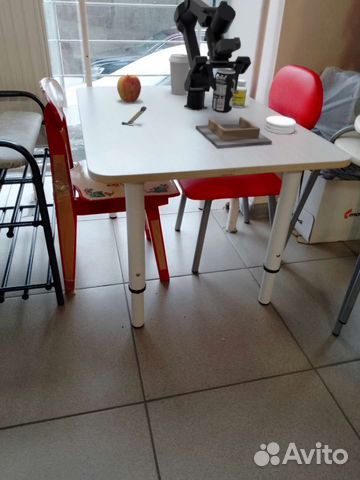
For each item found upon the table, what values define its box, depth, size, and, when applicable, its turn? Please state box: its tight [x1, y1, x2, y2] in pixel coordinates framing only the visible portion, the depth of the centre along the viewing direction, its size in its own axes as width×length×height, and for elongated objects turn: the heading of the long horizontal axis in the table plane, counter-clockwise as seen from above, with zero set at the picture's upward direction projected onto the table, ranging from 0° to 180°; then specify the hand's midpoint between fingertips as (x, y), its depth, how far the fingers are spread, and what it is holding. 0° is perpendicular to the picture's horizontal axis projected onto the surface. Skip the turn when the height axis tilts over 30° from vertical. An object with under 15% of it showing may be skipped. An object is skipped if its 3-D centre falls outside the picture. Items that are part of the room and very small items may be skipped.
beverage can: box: [211, 69, 236, 114], centre depth 113 cm, size 7×7×12 cm
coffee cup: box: [168, 53, 190, 96], centre depth 152 cm, size 10×10×15 cm
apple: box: [116, 73, 142, 103], centre depth 138 cm, size 9×9×10 cm
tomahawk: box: [121, 105, 147, 127], centre depth 125 cm, size 21×7×1 cm, turn 166°
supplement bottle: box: [232, 78, 248, 109], centre depth 140 cm, size 5×5×10 cm
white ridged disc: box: [264, 115, 297, 135], centre depth 120 cm, size 10×10×4 cm
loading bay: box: [195, 116, 273, 149], centre depth 112 cm, size 18×18×4 cm
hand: (225, 90), depth 112 cm, fingers closed on beverage can, 7 cm apart
